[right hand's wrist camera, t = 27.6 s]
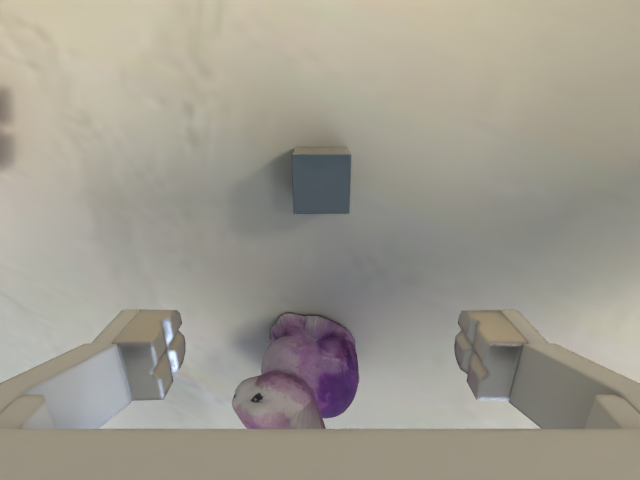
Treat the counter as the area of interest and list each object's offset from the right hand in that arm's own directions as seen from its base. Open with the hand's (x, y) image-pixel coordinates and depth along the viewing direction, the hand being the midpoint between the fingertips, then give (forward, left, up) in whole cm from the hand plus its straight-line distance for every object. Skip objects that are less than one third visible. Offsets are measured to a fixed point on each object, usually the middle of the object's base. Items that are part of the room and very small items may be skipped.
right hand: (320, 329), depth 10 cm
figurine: (+16, +9, -23) cm, 29 cm away
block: (0, 0, -23) cm, 23 cm away
